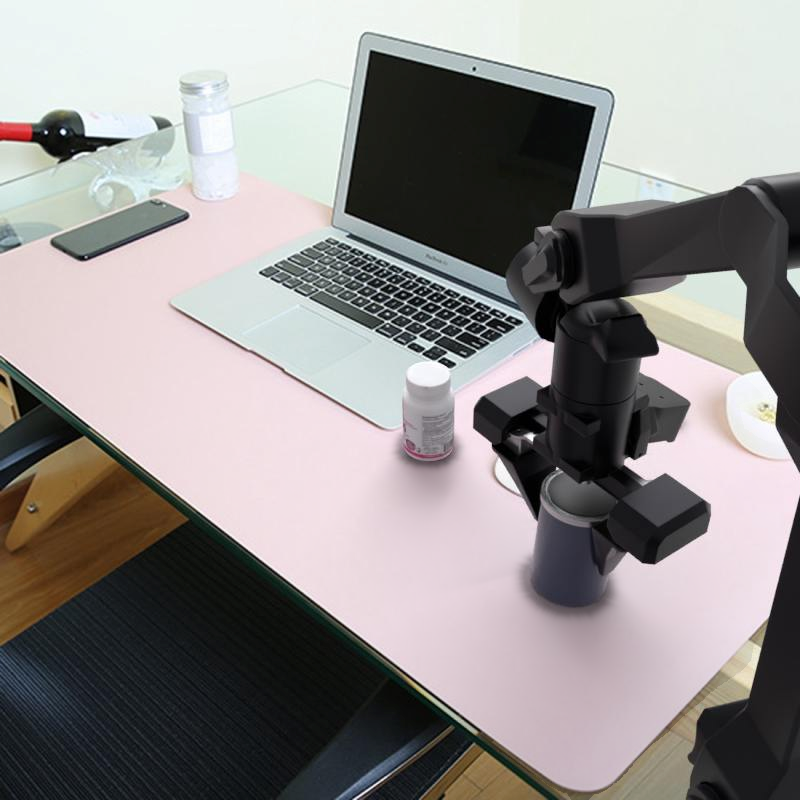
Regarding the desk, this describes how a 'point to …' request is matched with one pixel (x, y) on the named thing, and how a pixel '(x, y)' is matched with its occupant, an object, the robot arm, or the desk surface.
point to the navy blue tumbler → (569, 541)
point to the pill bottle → (428, 412)
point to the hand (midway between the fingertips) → (572, 545)
